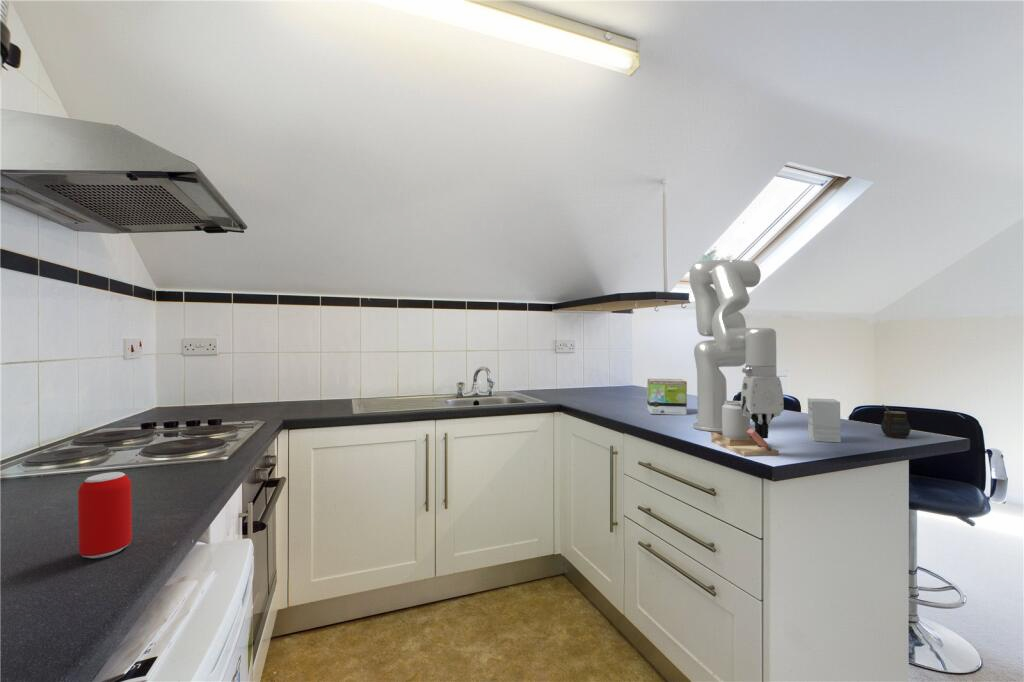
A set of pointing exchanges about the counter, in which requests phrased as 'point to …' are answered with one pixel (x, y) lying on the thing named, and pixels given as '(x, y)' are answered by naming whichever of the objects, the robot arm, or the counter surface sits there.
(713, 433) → the base
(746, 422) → the can
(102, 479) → the beverage can
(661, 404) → the tea box
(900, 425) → the mate gourd
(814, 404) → the supplement box
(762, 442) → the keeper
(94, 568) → the counter surface
